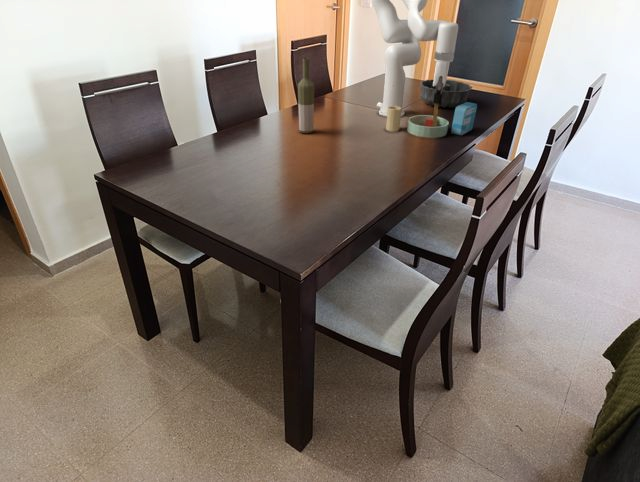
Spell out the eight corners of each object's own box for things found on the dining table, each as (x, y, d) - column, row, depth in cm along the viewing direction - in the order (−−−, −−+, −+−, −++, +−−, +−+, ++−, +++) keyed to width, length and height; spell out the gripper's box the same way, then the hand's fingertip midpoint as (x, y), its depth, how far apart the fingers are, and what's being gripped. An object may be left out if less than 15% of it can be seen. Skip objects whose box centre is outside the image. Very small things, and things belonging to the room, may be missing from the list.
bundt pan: (474, 102, 231) (478, 83, 226) (459, 114, 212) (463, 93, 207) (427, 95, 243) (430, 76, 237) (409, 105, 224) (412, 85, 219)
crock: (383, 130, 190) (385, 107, 185) (390, 127, 193) (393, 105, 188) (393, 133, 187) (396, 110, 181) (401, 130, 190) (404, 107, 185)
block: (433, 129, 190) (434, 120, 188) (424, 128, 191) (425, 119, 189) (436, 126, 193) (437, 118, 191) (427, 125, 194) (428, 117, 192)
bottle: (317, 131, 187) (318, 58, 171) (306, 135, 183) (305, 60, 166) (306, 128, 191) (305, 56, 175) (294, 131, 187) (293, 58, 170)
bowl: (399, 132, 188) (400, 120, 186) (420, 123, 199) (422, 112, 196) (433, 141, 178) (435, 130, 176) (454, 132, 189) (456, 121, 186)
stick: (432, 128, 188) (436, 90, 180) (432, 127, 189) (436, 89, 181) (435, 128, 188) (439, 90, 180) (435, 127, 189) (440, 89, 181)
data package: (460, 137, 184) (465, 108, 177) (450, 134, 186) (455, 106, 180) (472, 130, 191) (477, 103, 185) (462, 128, 194) (468, 101, 187)
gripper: (435, 53, 181) (429, 97, 191) (433, 59, 168) (427, 106, 178) (453, 54, 179) (446, 98, 189) (453, 60, 166) (445, 108, 176)
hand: (437, 102), depth 183 cm, fingers closed on stick, 1 cm apart
